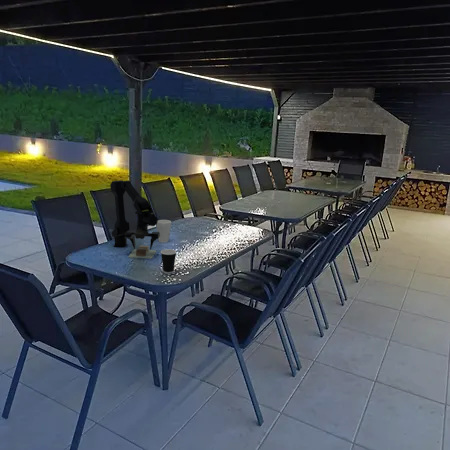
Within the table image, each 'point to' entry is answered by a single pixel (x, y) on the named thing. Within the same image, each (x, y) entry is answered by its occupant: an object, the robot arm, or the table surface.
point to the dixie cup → (168, 260)
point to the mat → (148, 256)
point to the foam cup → (163, 230)
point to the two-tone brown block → (142, 250)
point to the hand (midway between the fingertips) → (142, 249)
